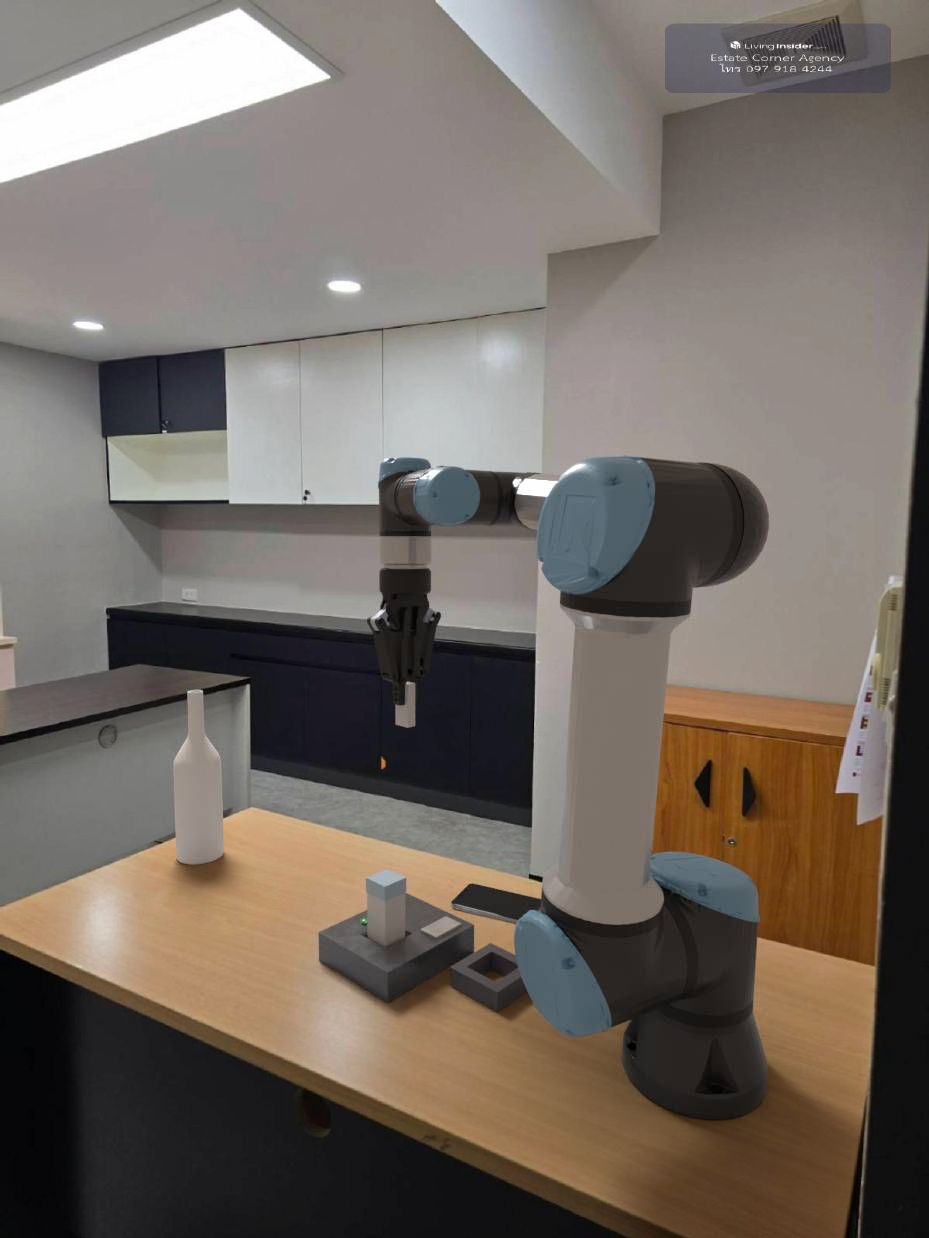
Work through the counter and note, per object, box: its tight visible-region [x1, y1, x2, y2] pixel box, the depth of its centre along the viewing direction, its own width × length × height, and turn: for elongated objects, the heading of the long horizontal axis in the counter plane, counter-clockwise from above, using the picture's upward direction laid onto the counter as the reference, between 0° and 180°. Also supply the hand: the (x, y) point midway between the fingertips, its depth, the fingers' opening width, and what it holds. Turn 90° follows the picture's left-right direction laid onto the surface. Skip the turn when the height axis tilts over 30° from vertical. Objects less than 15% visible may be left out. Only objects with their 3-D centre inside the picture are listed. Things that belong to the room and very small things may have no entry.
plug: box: [365, 868, 407, 948], centre depth 103 cm, size 4×4×12 cm
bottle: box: [172, 689, 225, 866], centre depth 136 cm, size 8×8×30 cm
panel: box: [318, 892, 475, 1004], centre depth 105 cm, size 14×16×4 cm
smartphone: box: [450, 882, 541, 925], centre depth 120 cm, size 8×1×15 cm
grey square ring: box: [449, 942, 528, 1012], centre depth 99 cm, size 8×8×2 cm
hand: (405, 725), depth 114 cm, fingers closed
